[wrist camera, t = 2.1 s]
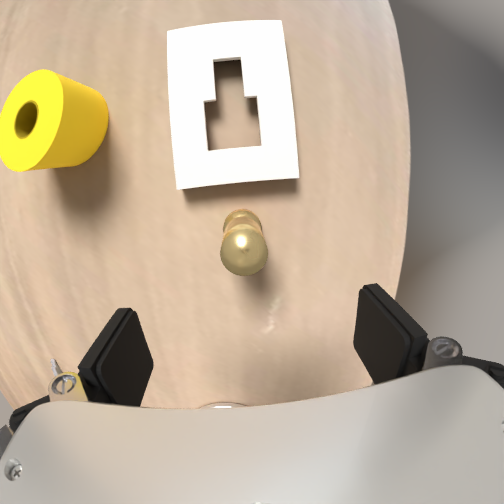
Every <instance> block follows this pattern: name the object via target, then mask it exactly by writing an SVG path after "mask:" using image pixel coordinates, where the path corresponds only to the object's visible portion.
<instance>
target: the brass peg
mask: <svg viewBox="0 0 504 504" xmlns="http://www.w3.org/2000/svg"><path fill="white" fill-rule="evenodd" d="M261 230H262V229H261V223H260V221H259V218H258V217H257V216H256V215H255V214H254V213H253V212H251V211H249V210H246V209H239V210H235V211H233V212H232V213H230V214H229V215H228V216H227V218H226V220H225V222H224V227H223V232H224V236H223V241H222V246H221V251H220V256H221V260H222V263H223V265H224V266H225V267H226V268H227V269H228V270H229V271H230V272H232V273H233V274H236V275H240V276H248V275H252V274H254V273H256V272H258V271H259V270H260V269H261V268H262V267H263V266H264V265H265V263H266V261H267V257H268V249H267V246H266V243H265V240H264V237H263V234H262V232H261Z"/></svg>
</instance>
